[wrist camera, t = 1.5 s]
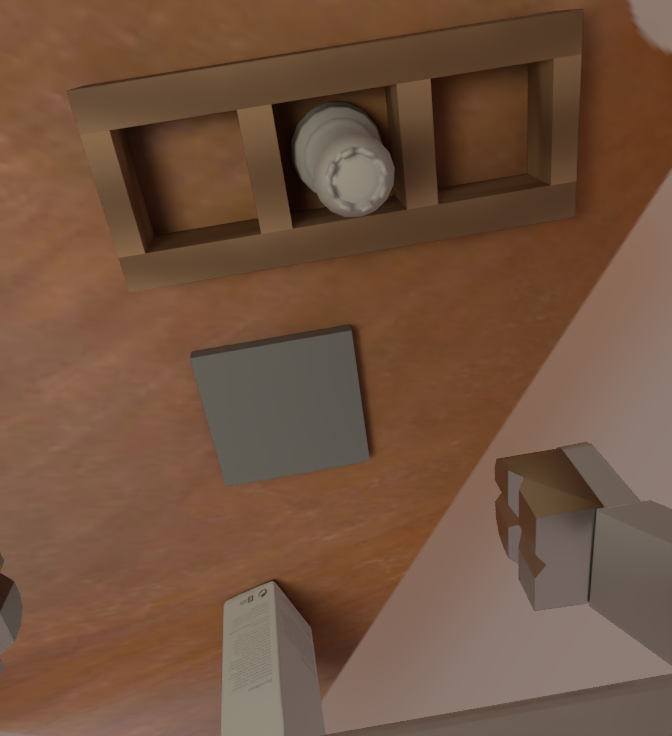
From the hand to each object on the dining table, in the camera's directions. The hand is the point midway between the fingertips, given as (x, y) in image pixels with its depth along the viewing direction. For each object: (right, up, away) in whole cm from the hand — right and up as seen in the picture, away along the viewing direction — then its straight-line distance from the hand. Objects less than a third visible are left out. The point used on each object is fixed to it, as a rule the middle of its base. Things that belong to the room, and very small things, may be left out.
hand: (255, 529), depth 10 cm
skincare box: (-3, -15, +36) cm, 39 cm away
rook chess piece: (+1, +14, +21) cm, 25 cm away
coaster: (-2, 0, +27) cm, 28 cm away
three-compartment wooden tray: (+1, +13, +21) cm, 25 cm away
